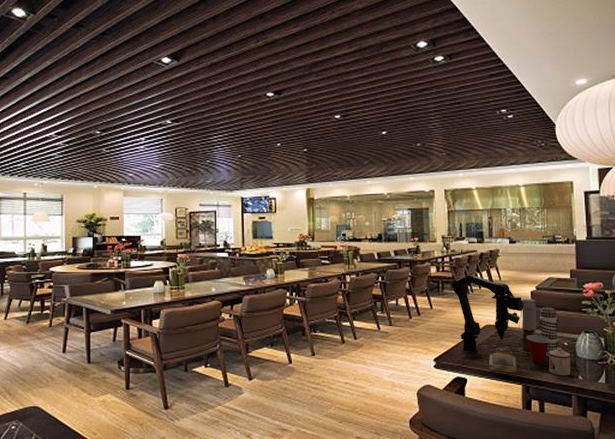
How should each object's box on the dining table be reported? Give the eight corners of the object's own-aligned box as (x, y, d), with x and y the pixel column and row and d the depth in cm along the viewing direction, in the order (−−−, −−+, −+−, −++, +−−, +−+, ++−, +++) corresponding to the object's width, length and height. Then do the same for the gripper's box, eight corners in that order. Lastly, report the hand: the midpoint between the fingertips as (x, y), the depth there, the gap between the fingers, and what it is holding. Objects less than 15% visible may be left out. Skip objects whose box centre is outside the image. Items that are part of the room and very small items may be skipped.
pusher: (493, 364, 218) (493, 354, 218) (493, 363, 220) (493, 353, 220) (511, 367, 214) (511, 356, 214) (511, 365, 217) (511, 355, 217)
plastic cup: (538, 365, 217) (537, 341, 217) (522, 358, 228) (521, 335, 228) (555, 363, 220) (555, 339, 220) (539, 357, 231) (538, 334, 231)
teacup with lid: (546, 368, 212) (546, 344, 212) (567, 370, 210) (566, 346, 210) (553, 377, 201) (553, 351, 201) (575, 378, 198) (575, 353, 198)
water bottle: (536, 341, 262) (536, 299, 262) (535, 344, 255) (535, 301, 255) (520, 339, 267) (519, 298, 267) (518, 342, 260) (517, 300, 260)
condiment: (538, 351, 241) (538, 329, 241) (530, 353, 237) (529, 331, 237) (525, 348, 247) (525, 327, 248) (517, 350, 243) (517, 329, 243)
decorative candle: (546, 350, 241) (545, 306, 242) (562, 355, 233) (561, 308, 233) (535, 353, 237) (534, 307, 238) (551, 357, 229) (550, 310, 229)
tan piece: (489, 369, 212) (489, 364, 212) (490, 359, 228) (490, 354, 228) (516, 372, 207) (516, 367, 207) (515, 361, 223) (515, 356, 223)
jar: (495, 362, 223) (495, 350, 223) (495, 358, 229) (495, 347, 229) (509, 363, 220) (509, 351, 220) (508, 360, 226) (508, 348, 226)
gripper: (518, 312, 218) (518, 343, 218) (518, 306, 235) (518, 334, 235) (494, 310, 223) (494, 341, 223) (496, 304, 240) (496, 332, 240)
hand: (501, 337), depth 230 cm, fingers open, 9 cm apart
